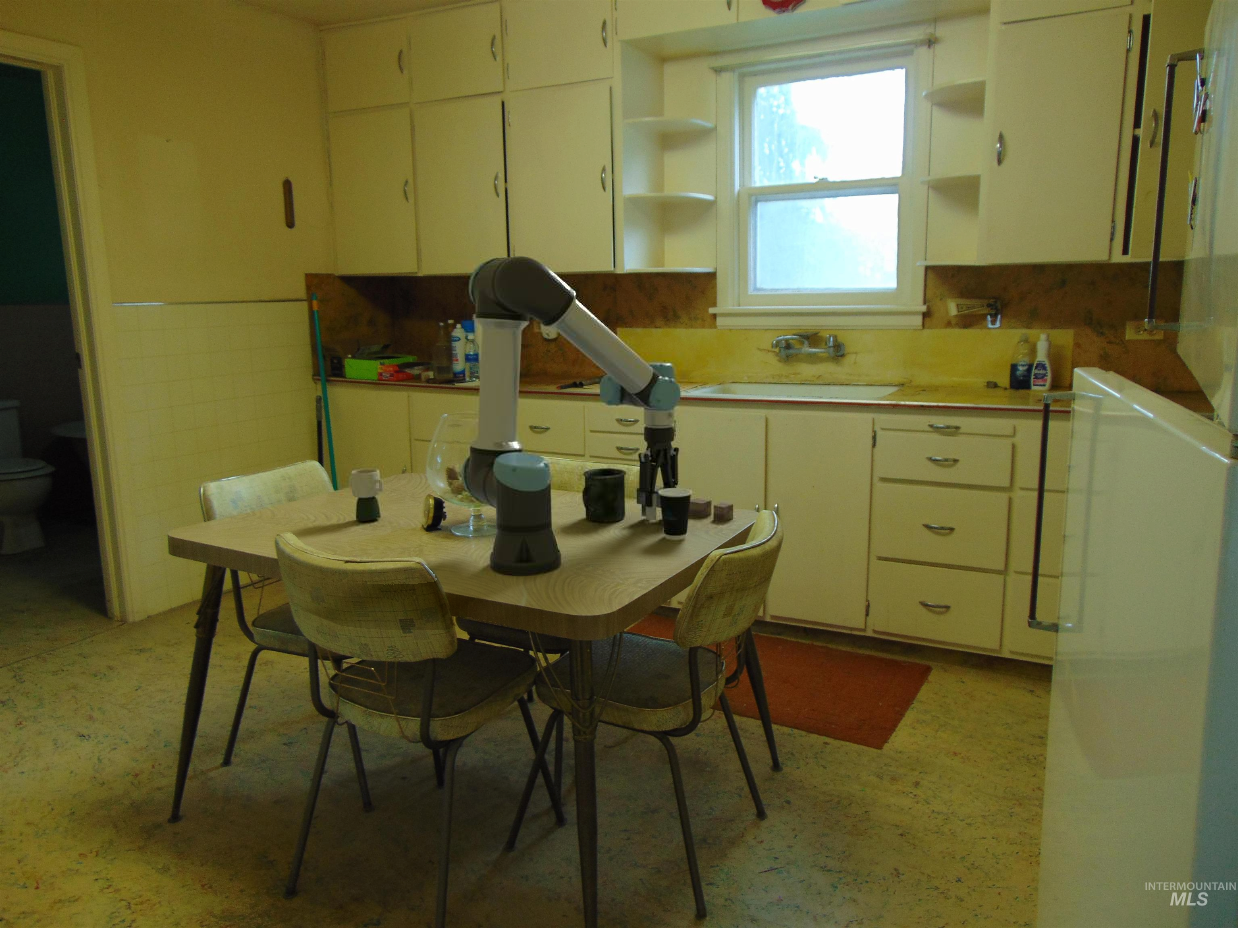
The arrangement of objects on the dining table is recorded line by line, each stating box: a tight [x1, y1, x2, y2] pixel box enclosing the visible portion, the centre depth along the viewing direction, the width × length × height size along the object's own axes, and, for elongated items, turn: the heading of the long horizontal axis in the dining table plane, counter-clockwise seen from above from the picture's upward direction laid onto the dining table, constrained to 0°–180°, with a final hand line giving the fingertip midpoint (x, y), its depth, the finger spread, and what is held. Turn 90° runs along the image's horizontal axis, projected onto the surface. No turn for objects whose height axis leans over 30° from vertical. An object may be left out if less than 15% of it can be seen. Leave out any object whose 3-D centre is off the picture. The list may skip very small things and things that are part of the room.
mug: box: [581, 467, 627, 523], centre depth 227 cm, size 11×15×12 cm
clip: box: [636, 485, 668, 518], centre depth 225 cm, size 10×6×8 cm, turn 49°
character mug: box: [348, 468, 384, 522], centre depth 231 cm, size 11×7×13 cm, turn 64°
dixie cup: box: [658, 487, 693, 541], centre depth 210 cm, size 8×8×11 cm
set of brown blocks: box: [689, 497, 734, 522], centre depth 231 cm, size 4×18×4 cm, turn 49°
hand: (658, 516), depth 225 cm, fingers closed on clip, 5 cm apart
